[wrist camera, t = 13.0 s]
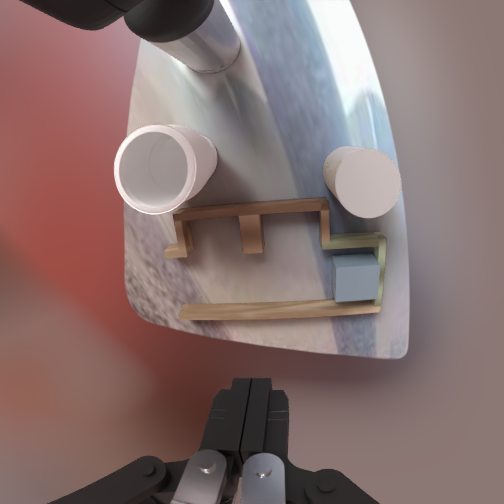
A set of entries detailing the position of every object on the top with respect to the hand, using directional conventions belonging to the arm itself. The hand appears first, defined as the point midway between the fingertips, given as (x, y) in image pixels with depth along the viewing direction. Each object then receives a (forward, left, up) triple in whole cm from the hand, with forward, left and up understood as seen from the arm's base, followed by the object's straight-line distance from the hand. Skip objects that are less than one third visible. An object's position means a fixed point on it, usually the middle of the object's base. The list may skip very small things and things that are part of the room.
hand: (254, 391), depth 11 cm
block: (+13, +12, -37) cm, 41 cm away
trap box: (+9, -1, -37) cm, 38 cm away
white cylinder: (-4, +11, -37) cm, 39 cm away
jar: (-8, -13, -37) cm, 40 cm away
